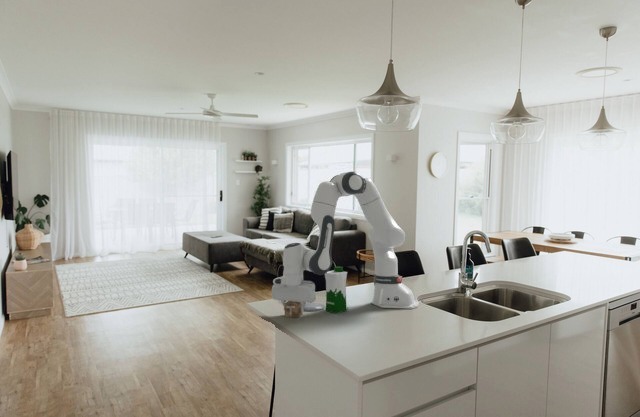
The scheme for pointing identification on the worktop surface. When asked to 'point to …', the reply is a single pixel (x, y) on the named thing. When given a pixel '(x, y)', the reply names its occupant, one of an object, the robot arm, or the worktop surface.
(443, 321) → the worktop surface
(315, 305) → the coaster
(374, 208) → the robot arm
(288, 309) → the letter cube
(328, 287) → the soya milk
